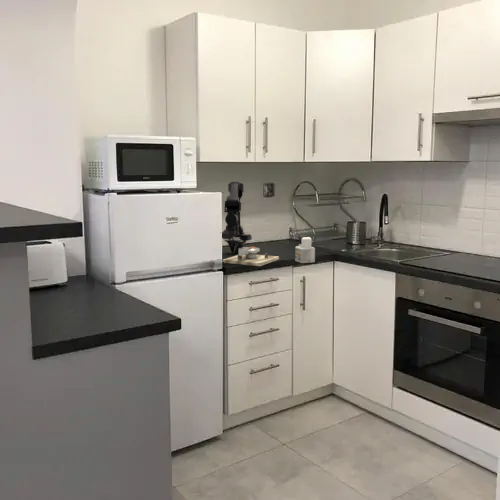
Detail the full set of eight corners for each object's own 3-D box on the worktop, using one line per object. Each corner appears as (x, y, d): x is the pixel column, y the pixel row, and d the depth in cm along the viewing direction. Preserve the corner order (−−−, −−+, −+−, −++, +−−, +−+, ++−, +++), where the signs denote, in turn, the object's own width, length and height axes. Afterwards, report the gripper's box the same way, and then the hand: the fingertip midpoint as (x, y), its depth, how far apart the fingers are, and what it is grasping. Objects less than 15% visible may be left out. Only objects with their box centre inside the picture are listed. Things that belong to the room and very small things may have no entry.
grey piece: (247, 250, 297) (247, 244, 296) (262, 251, 292) (262, 245, 292) (233, 254, 283) (233, 248, 283) (248, 256, 279) (248, 249, 278)
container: (295, 260, 291) (295, 236, 289) (308, 259, 294) (308, 235, 291) (301, 263, 284) (301, 238, 282) (315, 262, 286) (315, 237, 284)
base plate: (222, 262, 287) (222, 253, 286) (243, 256, 306) (243, 247, 305) (259, 266, 277) (259, 256, 276) (279, 259, 296) (279, 250, 295)
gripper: (209, 224, 279) (209, 254, 281) (242, 225, 272) (243, 257, 274) (219, 221, 289) (219, 251, 291) (251, 223, 282) (252, 253, 284)
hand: (233, 253), depth 285 cm, fingers closed
